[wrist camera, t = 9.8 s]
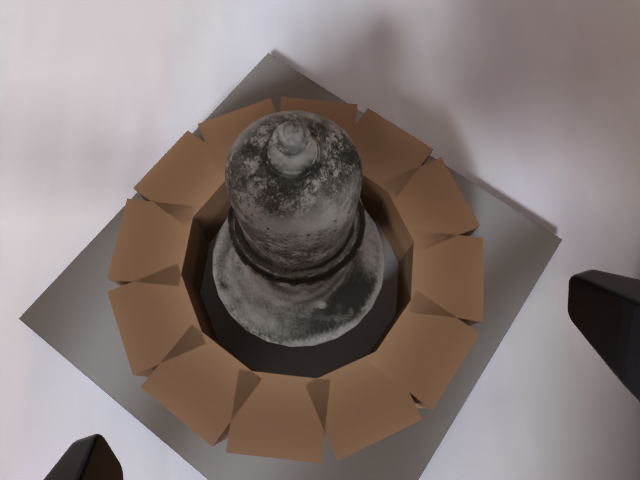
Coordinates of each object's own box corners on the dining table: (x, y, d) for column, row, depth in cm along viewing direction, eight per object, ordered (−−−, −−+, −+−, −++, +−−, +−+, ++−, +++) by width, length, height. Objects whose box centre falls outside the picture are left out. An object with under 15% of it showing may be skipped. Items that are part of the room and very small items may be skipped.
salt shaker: (238, 209, 20) (150, -25, 9) (374, 220, 20) (461, 1, 9) (219, 348, 18) (76, 281, 7) (368, 360, 19) (467, 313, 7)
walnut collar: (555, 243, 21) (603, 214, 17) (346, 591, 17) (355, 642, 13) (269, 61, 23) (262, 4, 20) (27, 320, 19) (-34, 304, 16)
